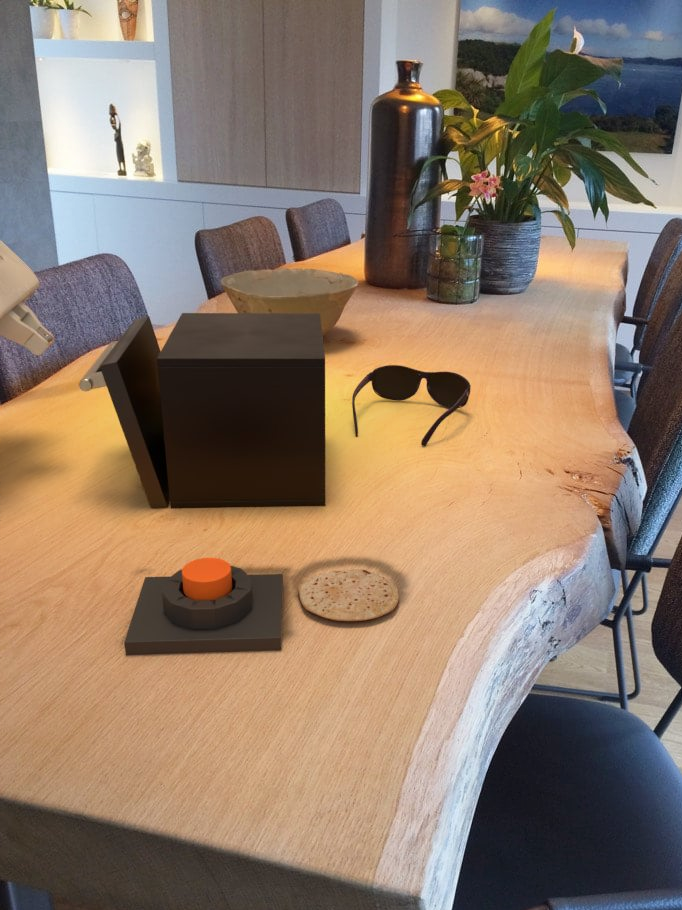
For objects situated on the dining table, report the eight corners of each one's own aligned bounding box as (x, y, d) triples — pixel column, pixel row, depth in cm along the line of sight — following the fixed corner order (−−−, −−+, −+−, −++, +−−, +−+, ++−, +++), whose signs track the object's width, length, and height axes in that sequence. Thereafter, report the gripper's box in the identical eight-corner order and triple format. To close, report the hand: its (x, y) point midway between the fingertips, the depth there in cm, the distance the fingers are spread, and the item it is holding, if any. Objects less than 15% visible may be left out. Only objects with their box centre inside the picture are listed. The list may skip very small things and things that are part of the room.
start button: (180, 602, 60) (178, 582, 60) (186, 577, 64) (184, 557, 63) (230, 601, 61) (229, 581, 60) (233, 576, 64) (232, 556, 63)
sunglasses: (472, 408, 109) (475, 371, 107) (448, 450, 96) (450, 409, 94) (374, 397, 113) (375, 361, 111) (336, 436, 99) (336, 395, 97)
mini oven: (170, 509, 80) (156, 358, 74) (191, 441, 96) (181, 312, 90) (325, 507, 81) (325, 358, 75) (320, 440, 98) (320, 313, 91)
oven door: (119, 516, 80) (65, 373, 74) (149, 447, 96) (107, 325, 90) (167, 506, 80) (116, 361, 74) (189, 439, 96) (149, 315, 90)
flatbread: (399, 577, 69) (400, 567, 69) (397, 629, 62) (398, 617, 62) (302, 573, 69) (302, 563, 69) (290, 624, 63) (289, 613, 62)
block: (125, 656, 59) (121, 620, 57) (146, 589, 67) (142, 557, 66) (281, 651, 60) (280, 616, 58) (283, 586, 68) (282, 554, 67)
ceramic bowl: (215, 358, 128) (211, 293, 124) (233, 323, 149) (230, 266, 144) (358, 360, 129) (359, 295, 125) (356, 325, 150) (357, 269, 145)
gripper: (-100, 238, 67) (42, 355, 73) (-23, 207, 86) (87, 302, 91) (-145, 293, 69) (-2, 403, 74) (-59, 251, 87) (50, 342, 92)
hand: (47, 347), depth 83 cm, fingers closed
